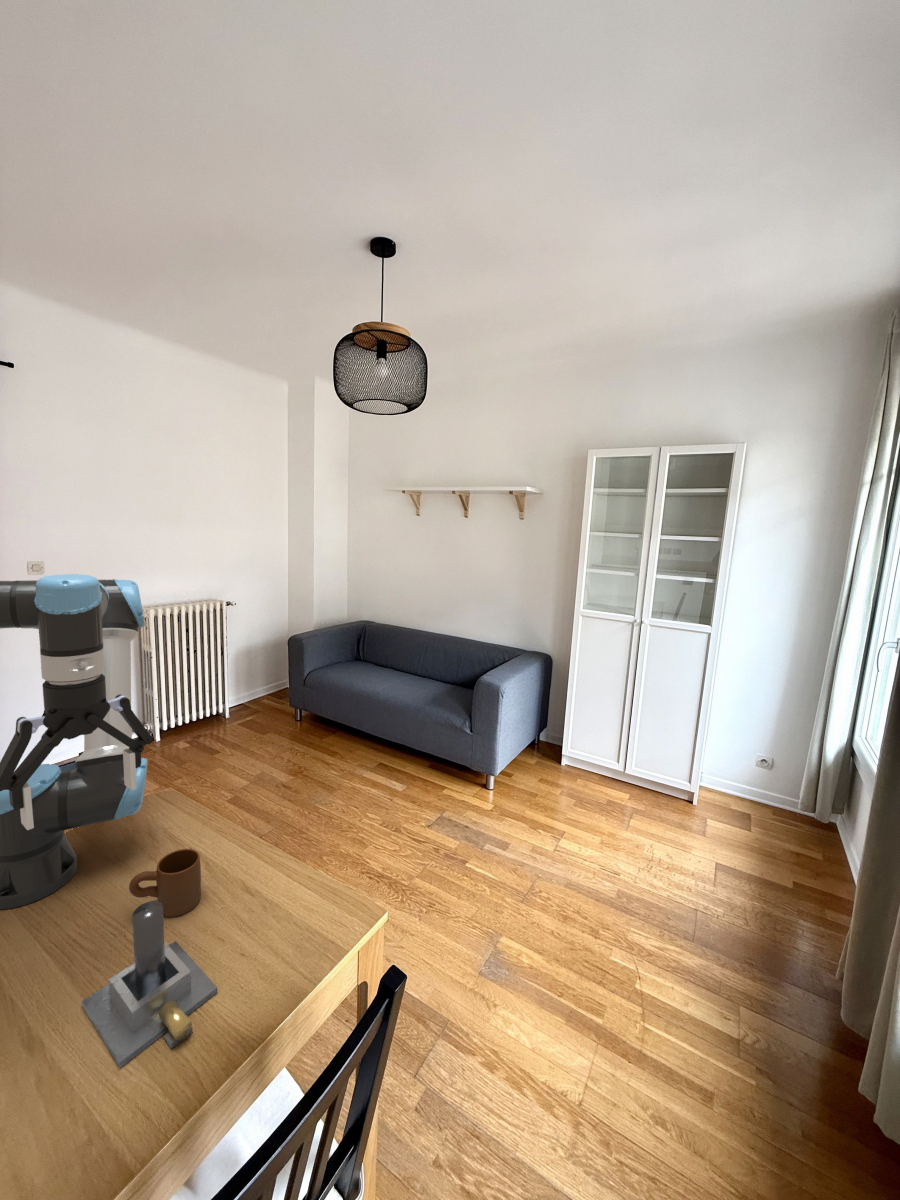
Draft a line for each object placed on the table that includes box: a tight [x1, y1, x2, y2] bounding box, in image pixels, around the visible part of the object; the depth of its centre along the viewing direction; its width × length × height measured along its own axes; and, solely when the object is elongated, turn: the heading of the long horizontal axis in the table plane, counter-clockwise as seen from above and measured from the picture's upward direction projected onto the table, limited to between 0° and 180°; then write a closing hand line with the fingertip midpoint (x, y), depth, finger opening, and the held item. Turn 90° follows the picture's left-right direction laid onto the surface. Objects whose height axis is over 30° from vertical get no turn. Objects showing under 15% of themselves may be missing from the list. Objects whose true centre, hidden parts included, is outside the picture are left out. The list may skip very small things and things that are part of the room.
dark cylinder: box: [131, 900, 166, 1001], centre depth 75 cm, size 4×4×15 cm
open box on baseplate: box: [81, 940, 218, 1069], centre depth 75 cm, size 18×14×4 cm
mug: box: [128, 848, 202, 918], centre depth 93 cm, size 12×8×9 cm, turn 125°
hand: (82, 804), depth 76 cm, fingers open, 13 cm apart
